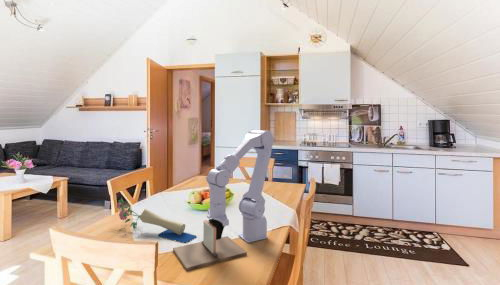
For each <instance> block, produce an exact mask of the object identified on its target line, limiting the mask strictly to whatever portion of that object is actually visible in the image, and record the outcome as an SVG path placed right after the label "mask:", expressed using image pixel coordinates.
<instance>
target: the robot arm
mask: <svg viewBox="0 0 500 285" xmlns="http://www.w3.org/2000/svg"><path fill="white" fill-rule="evenodd" d="M274 140H275V137H274V135H273V133H272V132H271V131H270V130H259V129H257V130H256V129H250V130H249V131H247V133H246V134H245V135H244V139H243V140H242V142H240V144H239V145H238V147H237V148H236V149H235V150H234V152H233V153H232V154H227V155H225V156H224V159H223V160H222V161H221V162H220V163H219V164H217V166H216V167H215V168H212V169H211V170H210V171H209V172H208V173H207V176H206V177H205V180H206V183H207V184H208V188H209V208H208V209H207V215H206V218H207V219H208V222H209V223H211V224H212V225H213V226H214V227H215V228H216V240H218V239H221V237H223V236H222V235H223V233H224V232H223V231H224V229H225V227H226V226H229V225H230V222H229V221H230V220H229V219H228V215H227V211H226V200H227V199H226V196H227V195H226V191H227V190H226V189H227V188H226V186H227V185H228V184H229V182H230V179H231V176H232V174H233V173H234V172H235V170H237V168H238V167H239V166H240V160H241V159H242V158H243V157H244V156H246V155H247V153H249V151H251V150H252V149H254V151H255V152H256V155H257V156H256V159H255V162H254V167H253V171H252V175H251V179H250V184H249V187H248V191H246V192H245V193H244V194H243V195H242V197H241V199H240V201H239V204H238V210H239V212H240V213H241V216H242V233H240V234H238V237H239V238H241V239H242V240H243V241H245V242H246V243H253V242H256V241H261V240H264V239H268V236H267V233H268V232H267V230H268V226H267V225H268V222H267V218H266V216H265V214H264V213H265V211H266V209H265V208H266V206H265V203H266V200H265V198H264V196H263V195H262V194H263V190H264V185H265V180H266V176H267V172H268V168H269V164H270V160H271V156H272V149H273V144H274Z"/></svg>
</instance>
